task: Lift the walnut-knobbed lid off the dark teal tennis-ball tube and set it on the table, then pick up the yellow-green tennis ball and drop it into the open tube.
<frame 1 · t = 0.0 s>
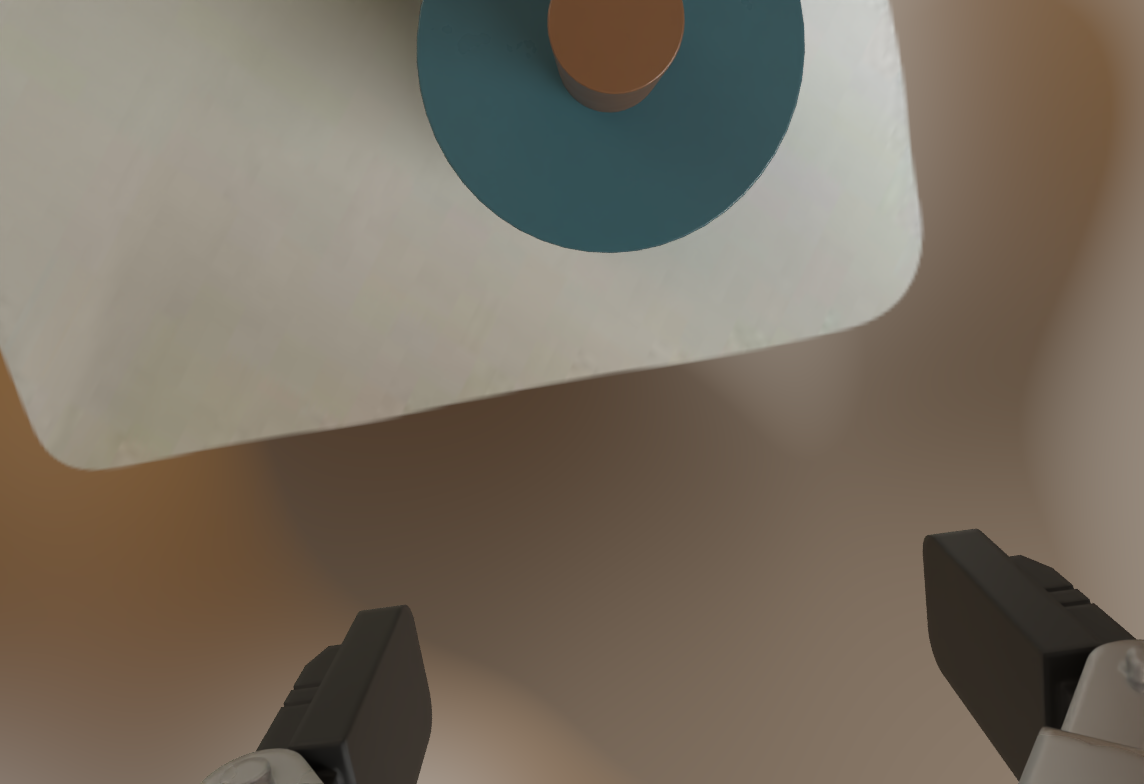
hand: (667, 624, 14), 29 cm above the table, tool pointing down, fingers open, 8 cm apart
tube lid: (609, 59, 26), point 15 cm above the table, touching tube
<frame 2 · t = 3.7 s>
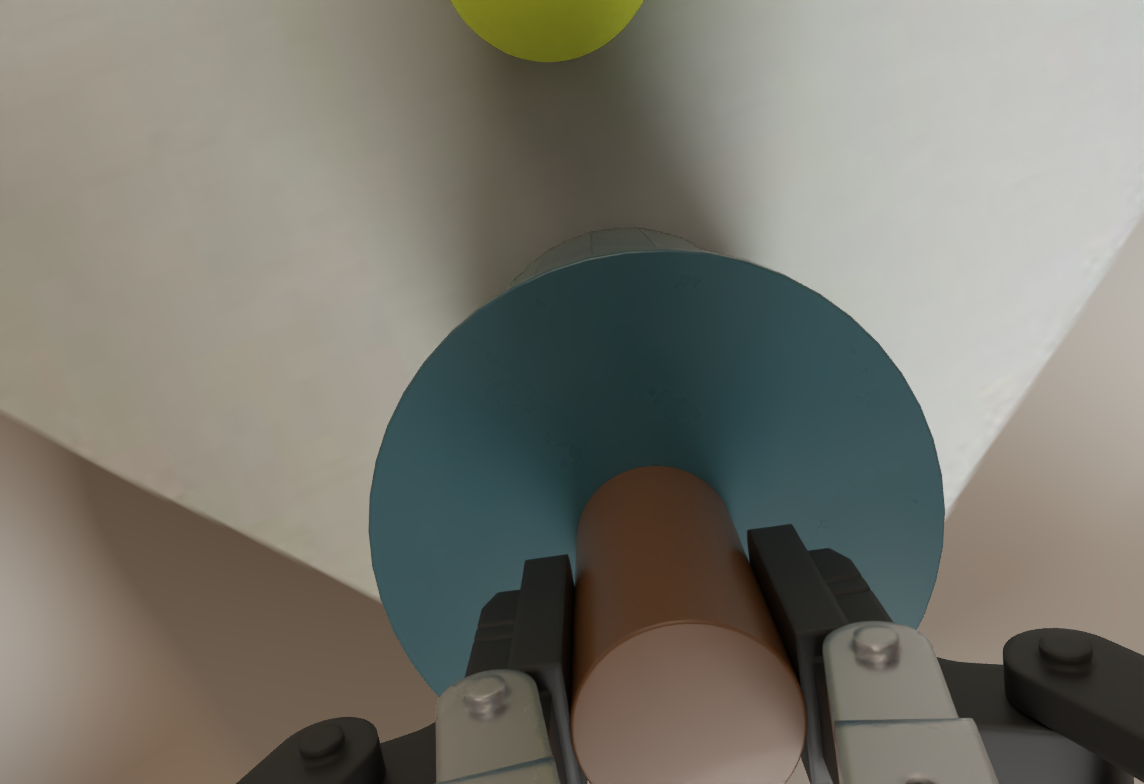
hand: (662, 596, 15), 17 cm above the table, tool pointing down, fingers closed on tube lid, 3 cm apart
tube lid: (652, 529, 18), point 15 cm above the table, touching gripper, tube
tube: (624, 370, 32), on the table
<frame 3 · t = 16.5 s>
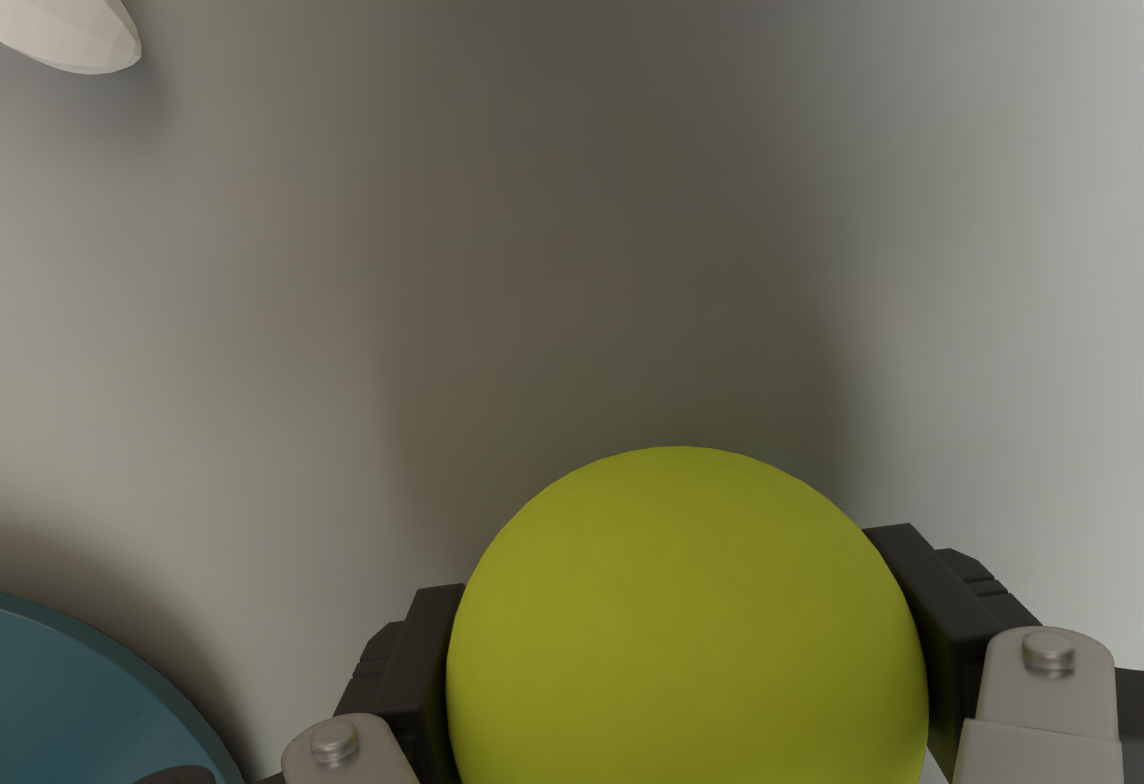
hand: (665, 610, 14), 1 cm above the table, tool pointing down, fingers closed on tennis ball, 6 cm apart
tennis ball: (679, 678, 12), point 3 cm above the table, touching gripper
when the fingers open (15 cm above the table, at t = 23.4 s): tennis ball drops 13 cm, resting on tube.
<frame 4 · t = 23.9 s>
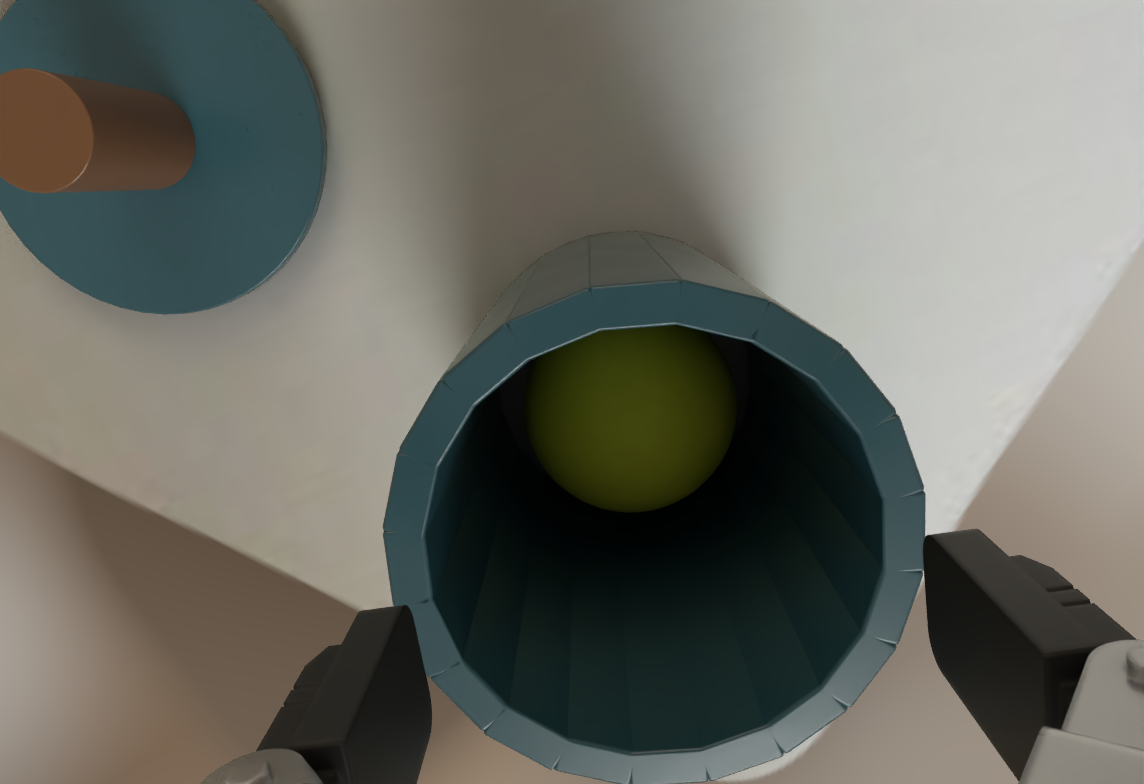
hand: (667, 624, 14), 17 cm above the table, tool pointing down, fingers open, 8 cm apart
tennis ball: (629, 406, 27), point 4 cm above the table, touching tube
tube lid: (155, 141, 29), point 1 cm above the table
tube: (623, 378, 31), on the table
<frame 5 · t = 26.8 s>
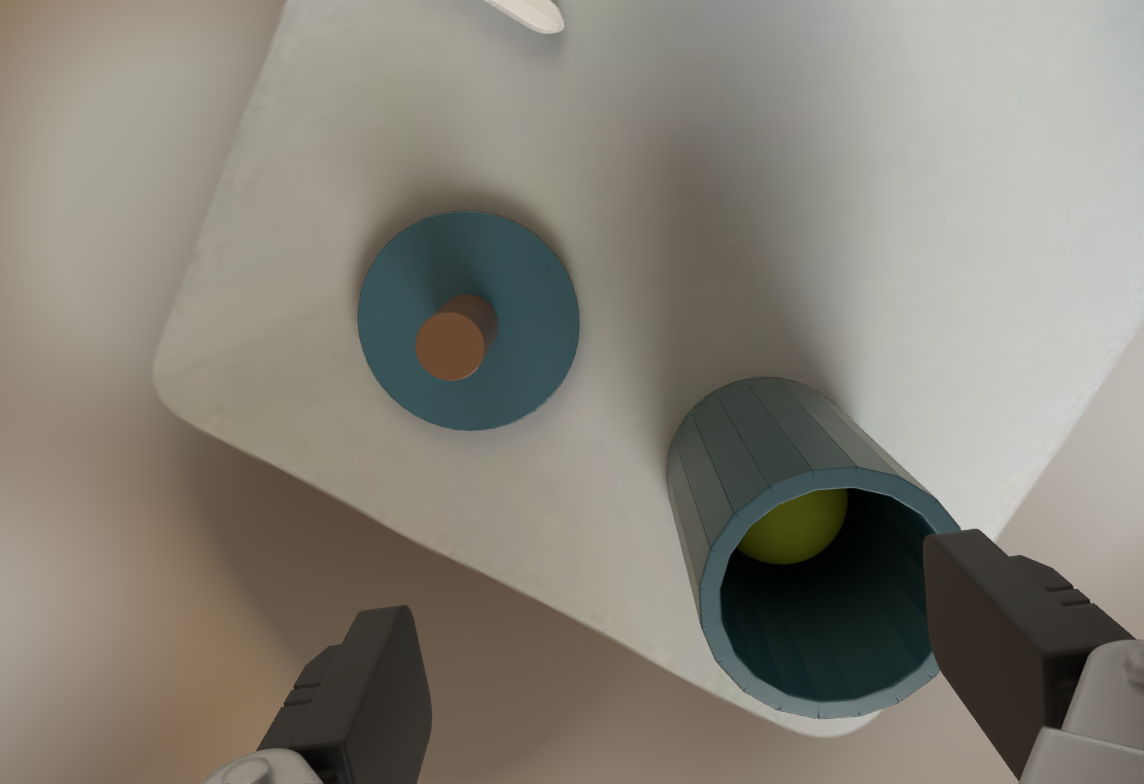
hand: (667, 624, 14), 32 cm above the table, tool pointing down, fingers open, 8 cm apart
tennis ball: (778, 497, 43), point 4 cm above the table, touching tube
tube lid: (469, 322, 45), point 1 cm above the table
tube: (761, 469, 47), on the table
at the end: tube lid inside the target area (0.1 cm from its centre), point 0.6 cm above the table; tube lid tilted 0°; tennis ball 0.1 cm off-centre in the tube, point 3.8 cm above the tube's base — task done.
